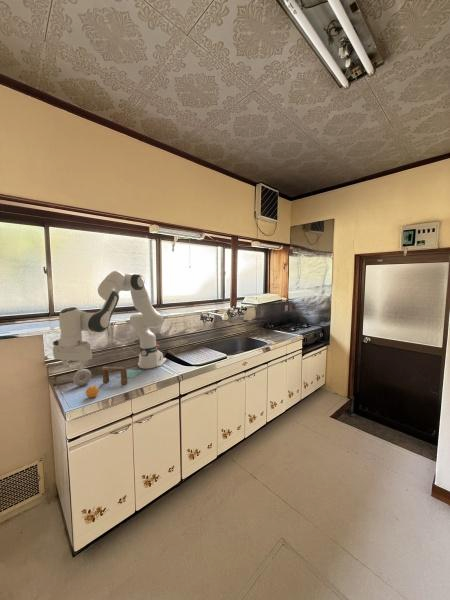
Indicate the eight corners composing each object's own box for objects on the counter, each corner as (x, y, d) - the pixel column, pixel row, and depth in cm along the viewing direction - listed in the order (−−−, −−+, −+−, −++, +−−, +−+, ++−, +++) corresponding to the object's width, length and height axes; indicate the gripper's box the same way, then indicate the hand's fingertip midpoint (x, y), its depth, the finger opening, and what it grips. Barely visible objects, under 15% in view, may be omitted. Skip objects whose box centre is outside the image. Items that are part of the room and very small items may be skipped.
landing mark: (128, 369, 171) (128, 369, 171) (144, 370, 168) (144, 370, 168) (115, 377, 159) (115, 376, 159) (133, 378, 155) (133, 377, 155)
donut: (74, 388, 143) (73, 372, 142) (72, 387, 145) (71, 370, 144) (92, 383, 150) (91, 367, 149) (91, 381, 152) (89, 366, 151)
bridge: (106, 381, 152) (105, 366, 151) (127, 382, 148) (126, 367, 148) (103, 383, 149) (101, 367, 148) (124, 385, 146) (123, 369, 145)
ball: (92, 393, 135) (91, 383, 135) (101, 394, 134) (100, 384, 133) (83, 399, 129) (82, 388, 129) (93, 400, 128) (92, 389, 127)
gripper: (94, 339, 120) (96, 367, 121) (61, 338, 125) (63, 365, 126) (84, 343, 114) (86, 372, 115) (49, 342, 119) (51, 369, 120)
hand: (74, 368), depth 120 cm, fingers open, 7 cm apart
